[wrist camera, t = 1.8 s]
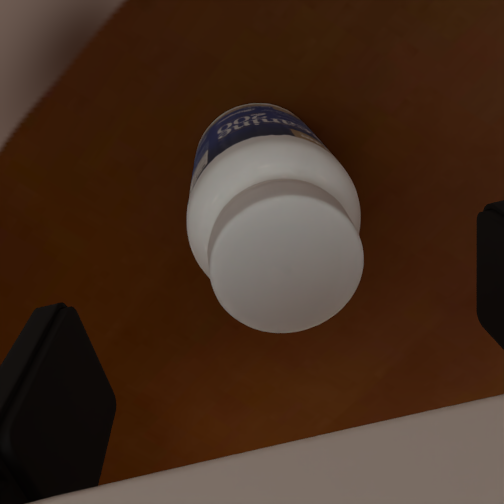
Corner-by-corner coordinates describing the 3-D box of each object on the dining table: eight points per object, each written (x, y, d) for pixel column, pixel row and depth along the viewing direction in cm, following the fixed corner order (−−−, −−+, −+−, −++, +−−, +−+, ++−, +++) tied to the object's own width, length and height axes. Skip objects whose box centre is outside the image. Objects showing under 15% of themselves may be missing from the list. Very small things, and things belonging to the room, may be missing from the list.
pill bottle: (330, 113, 20) (423, 186, 11) (300, 228, 22) (358, 364, 13) (203, 88, 19) (196, 147, 10) (186, 211, 21) (167, 343, 13)
